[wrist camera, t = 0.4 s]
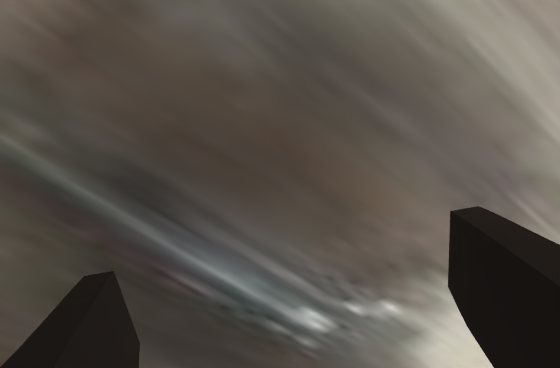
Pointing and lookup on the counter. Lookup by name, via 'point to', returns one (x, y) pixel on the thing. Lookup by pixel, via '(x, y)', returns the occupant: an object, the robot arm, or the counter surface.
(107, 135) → the counter surface
